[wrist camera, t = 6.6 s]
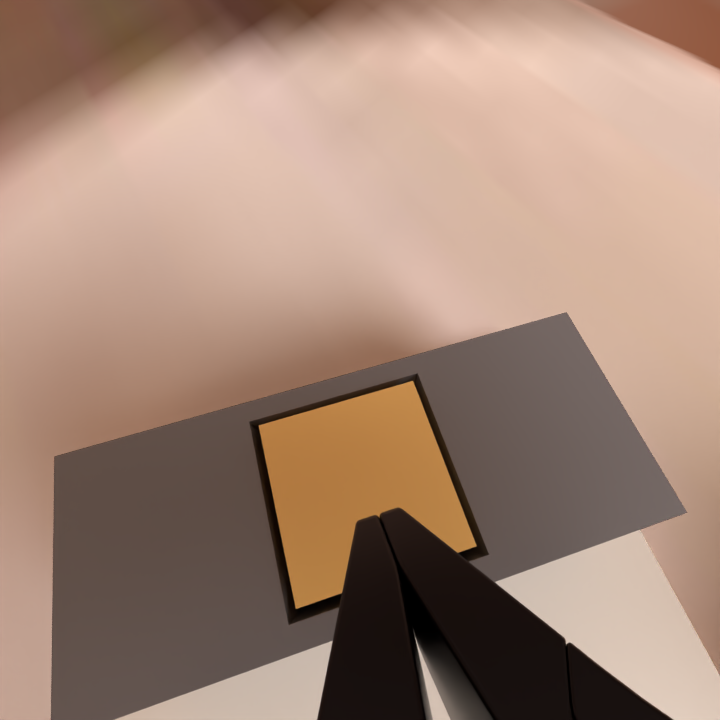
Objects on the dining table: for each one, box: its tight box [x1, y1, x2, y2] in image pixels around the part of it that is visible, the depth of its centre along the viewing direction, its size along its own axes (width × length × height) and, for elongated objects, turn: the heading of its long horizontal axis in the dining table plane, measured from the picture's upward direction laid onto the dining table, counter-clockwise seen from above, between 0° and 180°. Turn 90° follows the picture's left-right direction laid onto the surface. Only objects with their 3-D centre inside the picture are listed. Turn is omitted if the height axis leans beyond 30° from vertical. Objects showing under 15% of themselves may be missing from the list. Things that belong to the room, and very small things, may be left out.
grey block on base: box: [51, 312, 720, 720], centre depth 12 cm, size 18×20×7 cm
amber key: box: [259, 381, 476, 609], centre depth 12 cm, size 5×5×3 cm
